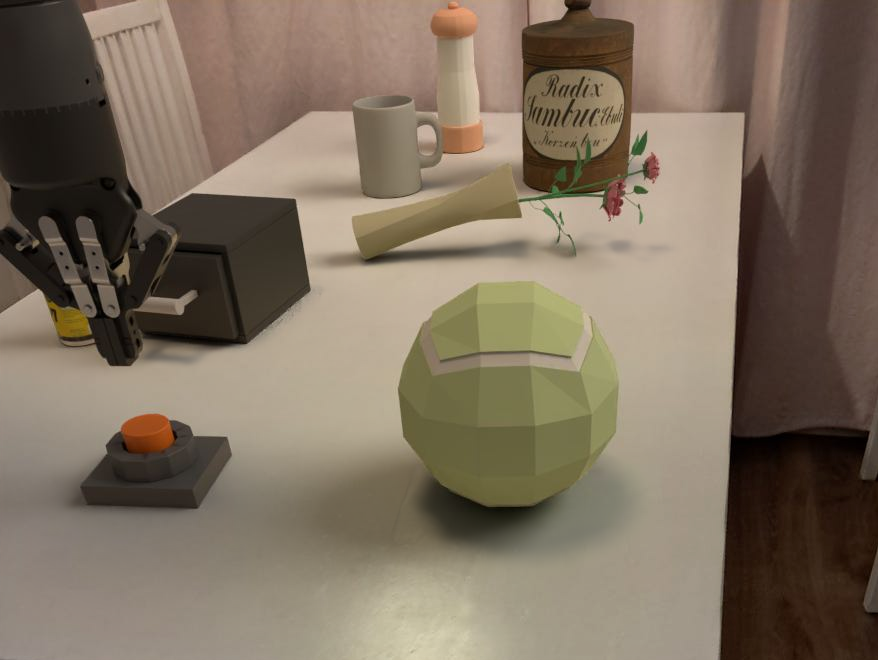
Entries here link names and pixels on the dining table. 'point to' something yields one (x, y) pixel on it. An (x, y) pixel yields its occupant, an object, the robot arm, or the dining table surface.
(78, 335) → the supplement bottle
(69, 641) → the dining table surface
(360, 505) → the dining table surface
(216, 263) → the drawer
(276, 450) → the dining table surface
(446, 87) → the pepper shaker
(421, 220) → the flower vase
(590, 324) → the tennis ball
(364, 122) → the mug
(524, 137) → the wooden container
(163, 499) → the control block
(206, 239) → the black cabinet
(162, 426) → the button
